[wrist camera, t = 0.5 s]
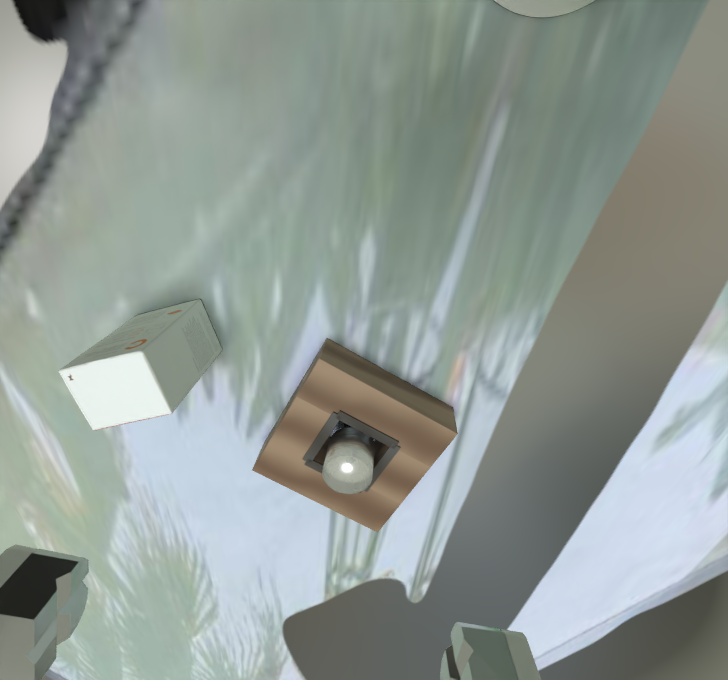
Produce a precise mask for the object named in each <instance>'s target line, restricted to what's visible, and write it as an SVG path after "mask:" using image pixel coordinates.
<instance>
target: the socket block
mask: <svg viewBox="0 0 728 680" xmlns="http://www.w3.org/2000/svg"><path fill="white" fill-rule="evenodd" d="M339 420H340V421H342V422H344V423H345V424H347V425H349V426H351V427H353V428H355V429H357V430H359V431H361V432H363V433H364V434H366V435H368V436H370V437H372V438H374V439H376V441H375V442H374V444H375V454H374V465H373V476H372V481H371V483H370V485H369V486H368V487H367V488H366V489H365V490H363V491H362V492H359V493H356V494H343V493H339V492H337V491H335V490H333V489H331V488H330V487H329V486H328V485H327V484H326V482H325V481H324V479H323V475H322V470H323V466H324V461H325V457H326V453H327V449H328V445H329V441H330V437H329V435H330V434H331V432H332V431H333V429H334V428H335V426H336V425H337V423H338V422H339ZM457 434H458V433H457V428H456V422H455V416H454V410H453V407H451V406H449V405H447V404H445V403H443V402H442V401H440V400H438V399H436V398H434V397H433V396H431V395H429V394H427V393H425V392H424V391H422V390H420V389H418V388H416V387H414V386H413V385H411V384H409V383H407V382H405V381H404V380H402V379H400V378H398V377H396V376H395V375H393V374H391V373H389V372H387V371H386V370H384V369H382V368H380V367H378V366H376V365H375V364H373V363H371V362H369V361H367V360H366V359H364V358H362V357H360V356H358V355H357V354H355V353H353V352H351V351H349V350H348V349H346V348H344V347H342V346H340V345H338V344H337V343H335V342H333V341H331V340H329V339H328V338H327V339H326V341H325V342H324V344H323V346H322V347H321V349H320V351H319V352H318V354H317V356H316V357H315V359H314V361H313V362H312V364H311V366H310V367H309V369H308V371H307V372H306V374H305V376H304V377H303V379H302V381H301V382H300V384H299V386H298V387H297V389H296V391H295V392H294V394H293V396H292V397H291V399H290V401H289V402H288V404H287V406H286V407H285V409H284V411H283V412H282V414H281V416H280V417H279V419H278V421H277V422H276V424H275V426H274V427H273V429H272V431H271V432H270V434H269V436H268V437H267V439H266V441H265V442H264V444H263V447H262V449H261V451H260V453H259V456H258V458H257V460H256V462H255V465H254V467H253V469H252V470H253V471H255V472H257V473H259V474H261V475H263V476H265V477H267V478H269V479H271V480H273V481H275V482H277V483H279V484H281V485H283V486H285V487H287V488H289V489H291V490H293V491H295V492H297V493H299V494H301V495H303V496H305V497H307V498H309V499H311V500H313V501H316V502H318V503H320V504H322V505H324V506H326V507H328V508H330V509H332V510H334V511H336V512H338V513H340V514H342V515H344V516H346V517H348V518H350V519H352V520H354V521H356V522H358V523H360V524H362V525H364V526H366V527H368V528H370V529H372V530H374V531H376V532H378V531H379V530H380V529H381V528H382V526H383V525H384V524H385V523H386V521H387V520H388V519H389V518H390V516H391V515H392V514H393V513H394V512H395V510H396V509H397V508H398V507H399V505H400V504H401V503H402V502H403V500H404V499H405V498H406V497H407V496H408V494H409V493H410V492H411V491H412V489H413V488H414V487H415V486H416V484H417V483H418V482H419V481H420V480H421V478H422V477H423V476H424V475H425V473H426V472H427V471H428V470H429V468H430V467H431V466H432V465H433V464H434V462H435V461H436V460H437V459H438V457H439V456H440V455H441V454H442V452H443V451H444V450H445V449H446V448H447V446H448V445H449V444H450V443H451V441H452V440H453V439H454V438H455V436H456V435H457Z"/></svg>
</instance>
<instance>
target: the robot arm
mask: <svg viewBox="0 0 728 680" xmlns="http://www.w3.org/2000/svg"><path fill="white" fill-rule="evenodd" d="M494 1H495V2H497V3H498V4H500V5H501V6H503V7H504V8H506V9H508V10H510V11H512V12H515V13H518V14H521V15H525V16H530V17H554V16H559V15H564V14H567V13H570V12H573V11H576V10H578V9H580V8H582V7H584V6H586V5H588V4H590V3H592V2H593V1H595V0H494ZM88 572H89V568H88V559H86V558H82V557H77V556H72V555H67V554H63V553H58V552H53V551H48V550H43V549H36V548H31V547H26V546H21V545H14V546H12V547H10V548H8V549H6V550H5V551H4V552H3V553H2V554H1V555H0V680H42V678H43V677H44V675H45V674H46V672H47V671H48V669H49V668H50V666H51V665H52V663H53V662H54V660H55V659H56V645H58V644H60V643H61V642H63V641H65V640H66V639H68V638H70V636H71V635H72V633H73V631H74V630H75V628H76V627H77V625H78V623H79V621H80V619H81V616H82V614H83V612H84V609H85V606H86V601H87V595H88V588H87V587H86V585H85V584H84V582H83V579H84V578H85V576H86V575H87V574H88ZM451 639H452V645H451V646H450V647H448V648H447V649H445V652H444V656H443V659H442V665H441V673H440V680H541V678H540V675H539V673H538V670H537V667H536V664H535V661H534V658H533V655H532V653H531V650H530V647H529V644H528V641H527V638H526V637H525V635H524V634H523V633H521V632H515V631H509V630H502V629H500V630H499V629H497V628H491V627H485V626H478V625H472V624H466V623H460V622H457V623H456V624H455V625H454V627H453V629H452V632H451Z"/></svg>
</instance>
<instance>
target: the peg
mask: <svg viewBox="0 0 728 680" xmlns="http://www.w3.org/2000/svg"><path fill="white" fill-rule="evenodd" d="M374 454H375V444H374V441H373V439H372V437H370V436H368V435H366V434H364V433H363V432H361V431H359V430H357V429H355V428H353V427H348V428H343V429H340V430H338V431H336V432H335V433H334V434H333V435H332V436H331V438H330V441H329V445H328V449H327V453H326V457H325V461H324V466H323V470H322V475H323V479H324V481H325V482H326V484H327V485H328V486H329V487H330V488H331V489H333V490H335V491H337V492H339V493H343V494H356V493H359V492H362V491H363V490H365V489H366V488H367V487H368V486H369V485H370V483H371V481H372V476H373V465H374Z"/></svg>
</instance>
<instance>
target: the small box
mask: <svg viewBox="0 0 728 680" xmlns="http://www.w3.org/2000/svg"><path fill="white" fill-rule="evenodd" d="M221 351H222V348H221V345H220V343H219V341H218V338H217V336H216V334H215V331H214V329H213V327H212V324H211V322H210V320H209V317H208V315H207V313H206V310H205V308H204V306H203V303H202V301H201V300H200V299H198V300H194V301H190V302H186V303H182V304H178V305H174V306H170V307H166V308H163V309H159V310H155V311H151V312H147V313H144V314H140V315H136V316H134V317H133V318H132V319H130V320H129V321H128V322H126V323H125V324H123V325H122V326H121V327H119V328H118V329H117V330H115V331H114V332H113V333H111V334H110V335H108V336H107V337H105V338H104V339H103V340H101V341H100V342H98V343H97V344H95V345H94V346H92V347H91V348H90V349H88V350H87V351H85V352H84V353H83V354H81V355H80V356H78V357H77V358H76V359H74V360H73V361H71V362H70V363H69V364H67V365H66V366H64V367H63V368H62V369H60V370H59V373H60V374H61V376H62V378H63V380H64V382H65V384H66V385H67V387H68V389H69V391H70V392H71V394H72V396H73V397H74V399H75V401H76V403H77V404H78V406H79V408H80V409H81V411H82V413H83V414H84V416H85V418H86V419H87V421H88V423H89V424H90V426H91V428H92V429H93V430H99V429H104V428H108V427H113V426H117V425H122V424H126V423H131V422H136V421H141V420H145V419H150V418H154V417H159V416H164V415H168V414H172V413H173V411H174V410H175V409H176V408H177V407H178V405H179V404H180V403H181V401H182V400H183V399H184V398H185V396H186V395H187V394H188V393H189V391H190V390H191V389H192V388H193V386H194V385H195V384H196V382H197V381H198V380H199V379H200V378H201V376H202V375H203V374H204V373H205V371H206V370H207V369H208V367H209V366H210V365H211V364H212V362H213V361H214V360H215V359H216V357H217V356H218V355H219V354H220V352H221Z"/></svg>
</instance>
